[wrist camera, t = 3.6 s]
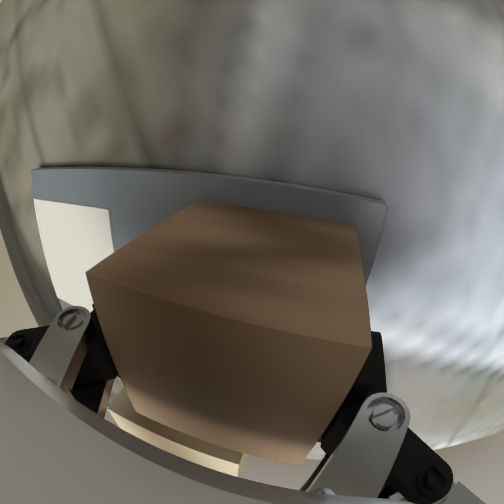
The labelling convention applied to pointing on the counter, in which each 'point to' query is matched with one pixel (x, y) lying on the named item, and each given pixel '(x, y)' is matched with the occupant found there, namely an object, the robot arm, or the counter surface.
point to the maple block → (175, 439)
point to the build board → (165, 213)
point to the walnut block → (237, 325)
